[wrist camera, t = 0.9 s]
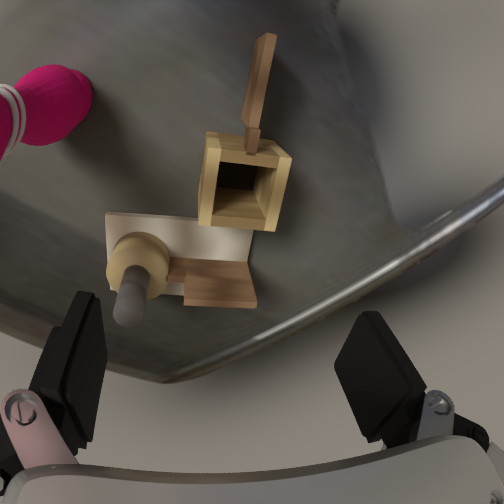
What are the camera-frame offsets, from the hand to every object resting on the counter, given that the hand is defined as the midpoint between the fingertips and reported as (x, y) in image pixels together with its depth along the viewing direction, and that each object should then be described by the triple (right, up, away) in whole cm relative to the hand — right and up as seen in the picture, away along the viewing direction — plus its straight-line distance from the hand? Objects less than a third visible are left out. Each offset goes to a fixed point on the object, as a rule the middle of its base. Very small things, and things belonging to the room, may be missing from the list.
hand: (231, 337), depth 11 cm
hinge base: (-8, +2, +25) cm, 26 cm away
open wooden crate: (0, +15, +18) cm, 24 cm away
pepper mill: (-18, +18, +13) cm, 28 cm away
